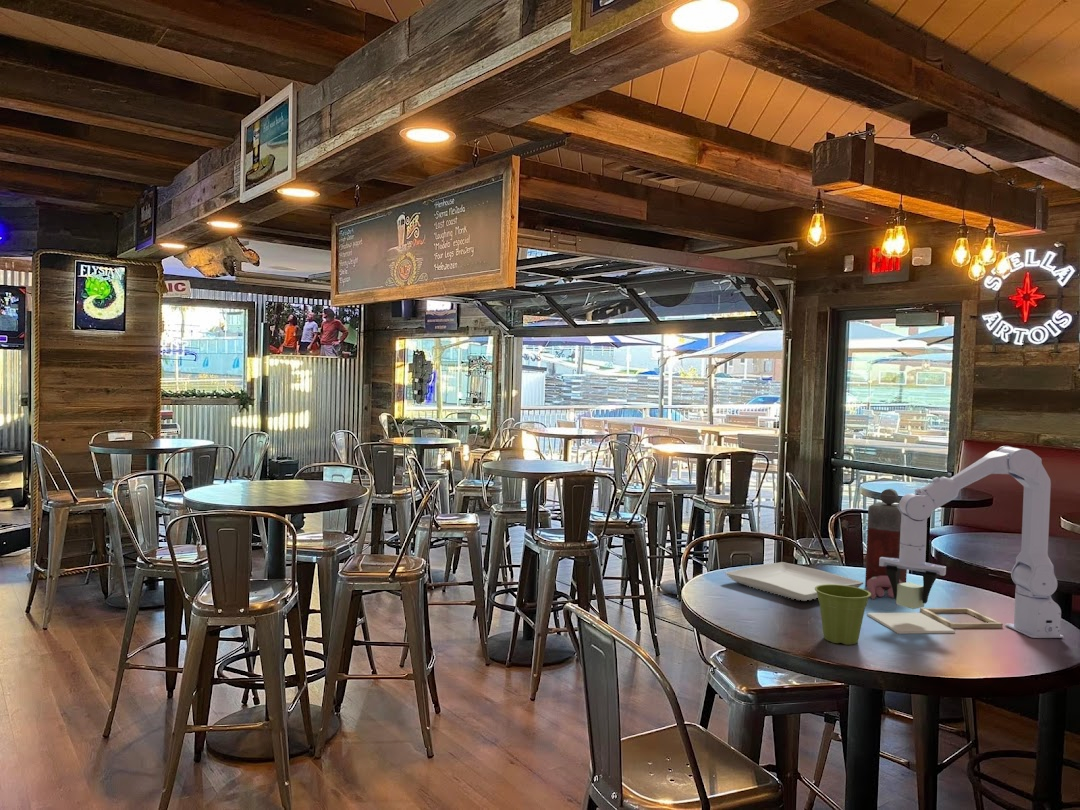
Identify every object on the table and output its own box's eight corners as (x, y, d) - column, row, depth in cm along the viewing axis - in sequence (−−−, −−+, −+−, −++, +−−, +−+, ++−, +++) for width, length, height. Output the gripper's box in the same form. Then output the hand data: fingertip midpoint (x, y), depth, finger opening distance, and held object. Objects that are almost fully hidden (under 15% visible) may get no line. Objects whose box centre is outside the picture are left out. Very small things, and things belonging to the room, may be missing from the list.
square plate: (805, 608, 204) (806, 593, 204) (722, 584, 226) (723, 571, 225) (864, 593, 220) (865, 579, 220) (781, 572, 242) (782, 559, 242)
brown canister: (908, 584, 229) (912, 488, 228) (898, 592, 220) (902, 492, 219) (876, 579, 235) (879, 485, 234) (864, 586, 226) (868, 488, 225)
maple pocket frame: (1002, 627, 190) (1002, 623, 190) (951, 628, 189) (951, 624, 189) (967, 611, 203) (968, 607, 203) (920, 611, 202) (920, 608, 202)
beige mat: (954, 633, 185) (954, 630, 185) (898, 633, 184) (898, 630, 184) (920, 614, 199) (920, 612, 199) (867, 615, 198) (867, 612, 198)
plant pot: (876, 640, 179) (878, 590, 178) (857, 653, 170) (859, 601, 169) (825, 628, 186) (826, 580, 186) (804, 639, 178) (806, 590, 177)
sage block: (924, 606, 191) (925, 586, 190) (912, 609, 188) (913, 588, 188) (907, 602, 194) (908, 581, 194) (896, 604, 192) (897, 583, 192)
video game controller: (903, 603, 215) (900, 578, 218) (909, 600, 211) (906, 574, 214) (866, 601, 216) (863, 576, 219) (871, 598, 212) (868, 572, 215)
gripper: (949, 546, 190) (946, 602, 190) (885, 537, 198) (882, 591, 199) (943, 550, 184) (941, 608, 184) (877, 541, 193) (875, 596, 193)
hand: (910, 599), depth 191 cm, fingers closed on sage block, 6 cm apart
